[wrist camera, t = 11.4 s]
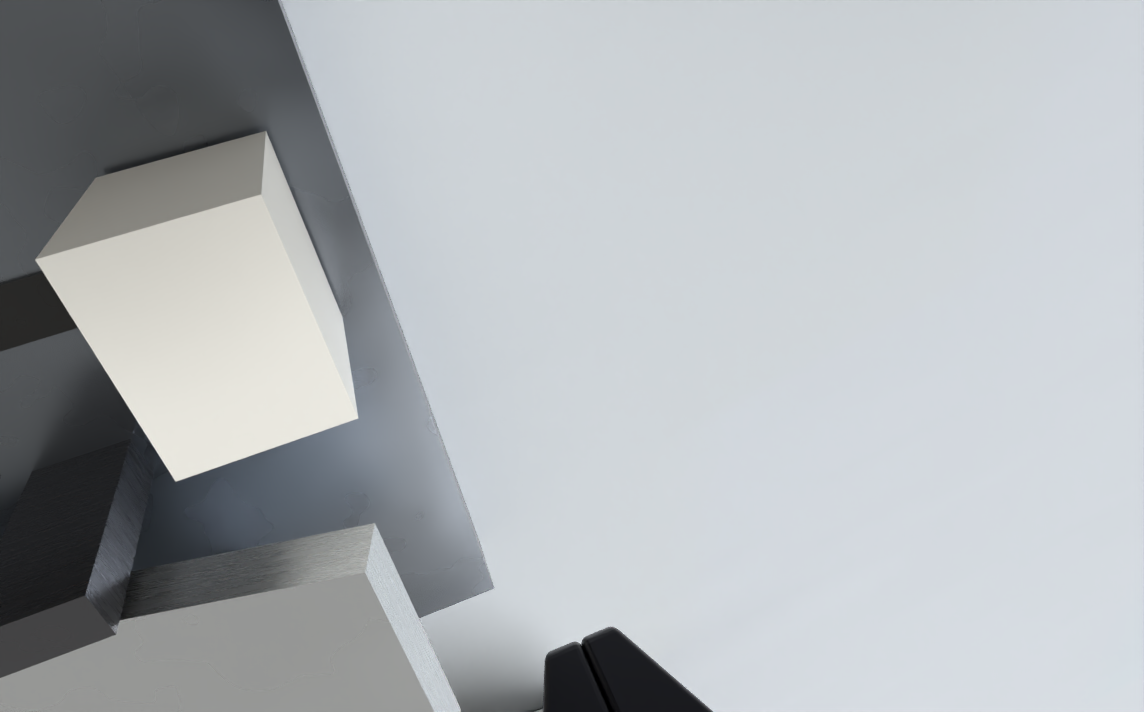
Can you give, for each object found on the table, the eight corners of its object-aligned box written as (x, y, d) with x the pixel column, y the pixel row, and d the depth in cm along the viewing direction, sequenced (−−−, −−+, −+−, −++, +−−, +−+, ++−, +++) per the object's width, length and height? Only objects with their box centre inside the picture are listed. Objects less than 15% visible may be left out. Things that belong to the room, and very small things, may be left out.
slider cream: (266, 130, 14) (261, 194, 11) (342, 317, 16) (358, 418, 13) (95, 177, 13) (35, 260, 10) (198, 363, 16) (175, 481, 12)
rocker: (375, 522, 14) (363, 579, 13) (460, 708, 18) (457, 766, 16) (-179, 632, 15) (-236, 696, 14) (3, 794, 18) (-31, 856, 17)
